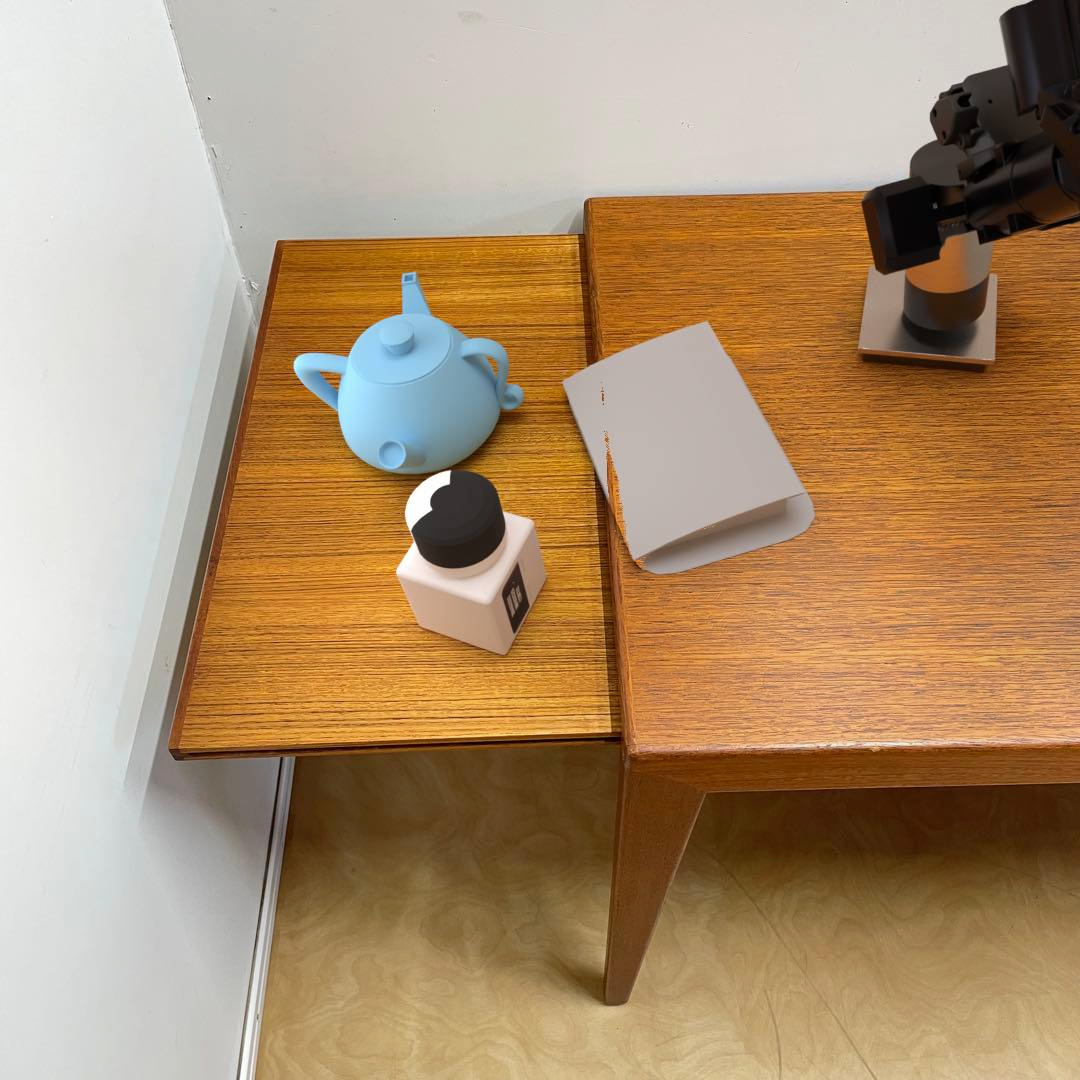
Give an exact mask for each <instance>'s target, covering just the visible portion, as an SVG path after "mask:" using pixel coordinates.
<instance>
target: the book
mask: <svg viewBox="0 0 1080 1080" xmlns="http://www.w3.org/2000/svg"><path fill="white" fill-rule="evenodd" d="M741 375H742V374H741V373H740V371H739V370H738V368H737V366H736V365H735V363H734V361H733V360H732V357H730V356H729V355H728V354H727V353H726V351H725V349H724V346H723V345H722V344H721V342H720V341H719V338H718V337H717V335H716V333H715V331H714V330H713V328H712V326H711V324H710V323H709V321H708V320H706V321H703V322H699V323H696V324H693V325H688V326H686V327H682V328H679V329H676V330H674V331H671V332H668V333H666V334H662V335H660V336H657V337H654V338H652V339H648V340H646V341H644V342H641V343H639V344H636V345H633V346H631V347H628V348H626V349H622V350H621V351H618V352H616V353H614V354H612V355H610V356H608V357H606V358H603V359H601V360H599V361H597V362H595V363H592V364H591V365H588V366H586V367H585V368H584V369H581V370H579V371H578V372H576V373H574V374H573V375H571V376H569V377H567V378H565V379H563V380H562V381H561V384H562V387H563V389H564V391H565V394H566V397H567V399H568V403H569V404H568V406H569V409H570V410H571V413H572V416H573V418H574V421H575V423H576V426H577V428H578V431H579V433H580V436H581V438H582V440H583V443H584V446H585V448H586V450H587V453H588V456H589V458H590V461H591V463H592V465H593V468H594V471H595V474H596V475H597V478H598V481H599V483H600V486H601V488H602V490H603V493H604V496H605V498H606V501H607V503H608V504H609V499H608V498H609V493H608V486H607V485H608V484H607V459H606V458H607V457H606V456H607V455H606V454H607V452H608V451H610V453H609V454H610V455H611V458H612V460H611V461H613V462H614V463H612V464H613V465H614V466H613V467H614V468H615V469H614V470H615V471H616V474H617V477H618V478H617V479H618V480H619V481H618V482H619V483H618V484H619V486H618V487H619V488H618V489H620V490H618V491H619V494H620V495H619V496H621V497H619V498H620V499H619V500H620V501H619V502H620V503H622V504H620V505H622V506H623V507H622V506H620V507H622V508H623V509H622V510H623V511H622V512H623V513H622V514H623V515H622V516H623V517H622V518H623V521H625V522H623V523H625V524H626V525H625V524H623V525H625V526H626V527H625V526H624V527H625V528H626V529H625V528H624V529H625V530H626V536H625V537H626V538H625V539H626V541H627V542H628V543H627V544H629V545H628V546H629V547H628V548H629V550H630V553H631V555H632V558H633V560H638V559H640V558H641V559H645V560H641V561H644V562H640V563H643V564H646V565H642V566H645V567H641V568H644V569H641V570H642V571H645V570H650V571H647V572H648V573H652V574H654V575H657V576H661V575H670V574H679V573H683V572H686V571H690V570H692V569H696V568H699V567H703V566H705V565H710V564H712V563H716V562H719V561H723V560H726V559H730V558H732V557H736V556H737V557H738V556H739V555H743V554H747V553H749V552H753V551H756V550H760V549H763V548H767V547H769V546H773V545H776V544H780V543H784V542H787V541H789V540H792V539H794V538H796V537H797V536H799V535H802V534H803V533H805V532H807V531H808V529H809V528H810V527H811V524H812V523H813V521H814V519H815V518H816V513H815V509H814V502H813V500H812V499H811V497H810V496H809V494H808V492H807V490H806V488H805V486H804V484H803V483H802V481H801V479H800V478H799V476H798V474H797V473H796V470H795V469H794V467H793V465H792V463H791V461H790V460H789V458H788V456H787V455H786V452H785V450H784V449H783V448H782V446H781V444H780V442H779V441H778V439H777V437H776V435H775V434H774V431H773V429H772V428H771V426H770V425H769V422H768V421H767V419H766V418H765V416H764V414H763V412H762V411H761V408H760V407H759V405H758V403H757V402H756V400H755V398H754V396H753V394H752V393H751V391H750V389H749V388H748V386H747V384H746V382H745V381H744V379H743V377H742V376H741ZM601 382H602V383H601ZM602 387H603V389H602ZM602 390H603V391H604V392H601V391H602ZM602 393H603V394H604V396H603V397H604V401H602ZM603 403H604V405H603ZM604 431H605V432H604ZM606 431H607V432H608V433H607V432H606ZM605 433H606V434H607V435H608V436H607V435H606V434H605ZM605 435H606V436H607V437H608V438H609V440H608V441H609V442H608V443H609V444H608V443H607V442H606V441H605V438H607V437H606V436H605ZM606 444H607V445H608V446H609V447H608V446H607V445H606ZM606 446H607V447H608V448H609V449H610V450H608V448H607V447H606ZM607 450H608V451H607ZM621 501H622V502H621ZM714 525H715V526H714ZM710 526H711V527H710ZM712 526H713V527H712ZM708 527H709V528H708ZM704 528H706V529H704ZM702 529H703V530H702ZM624 533H625V532H624ZM624 535H625V534H624ZM642 557H646V558H642ZM633 560H632V561H633Z"/></svg>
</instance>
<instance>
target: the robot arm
mask: <svg viewBox="0 0 1080 1080" xmlns="http://www.w3.org/2000/svg"><path fill="white" fill-rule="evenodd" d="M998 22H999V28H1000V34H1001V38H1002V44H1003V49H1004V54H1005V59H1006V64H1005V65H1002V66H999V67H995V68H991V69H987V70H984V71H979V72H976V73H975V72H974V73H972V74H970V75H967V76H966V77H965V79H964V80H963V82H959V83H953V84H952V85H951V86H950V87H949V89H948V90H945V91H941V92H940V93H939V94H938V99H937V100H936V101H935V103H934V105H933V107H932V108H931V110H930V112H929V123H930V125H931V127H932V130H933V132H934V134H935V137H936V140H937V139H938V142H939V144H940V145H942V146H948V145H952V144H954V145H957V146H958V148H959V149H960V150H963V152H964V153H965V154H966V156H967V158H966V159H964V160H962V161H960V162H959V163H957V164H956V166H957V171H958V176H959V180H960V181H964V180H966V182H967V183H966V184H965V185H964V191H963V201H961V202H957V203H953V204H950V205H946V206H942V207H939V208H937V204H936V203H935V204H933V202H932V197H931V193H930V188H929V184H928V183H927V182H926V181H925V180H924V179H923V177H922V176H921V175H919V176H915V177H911V178H909V177H908V178H904V179H900V180H896V181H894V182H889V183H885V184H882V185H878V186H875V187H874V188H872V189H870V190H868V191H867V192H865V194H864V196H863V198H862V199H861V201H860V205H861V209H862V214H863V219H864V223H865V227H866V232H867V236H868V241H869V246H870V250H871V253H872V260H873V263H874V266H875V269H876V270H877V271H878V272H880V273H881V274H883V275H888V274H892V273H895V272H899V271H903V270H906V269H910V268H914V267H917V266H921V265H924V264H927V263H931V262H934V261H937V260H939V259H940V255H939V254H940V250H941V249H942V248H943V247H944V246H945V243H946V240H947V239H948V238H952V237H956V236H959V235H963V234H967V233H970V232H974V231H977V236H978V241H979V245H982V244H986V243H989V242H993V241H994V242H996V241H1000V240H1004V239H1008V238H1011V237H1015V236H1018V235H1022V234H1025V233H1029V232H1033V231H1039V232H1045V231H1048V230H1049V231H1050V230H1052V229H1056V228H1060V227H1064V226H1067V225H1074V224H1079V223H1080V0H1030V1H1028V2H1026V3H1022V4H1018V5H1015V6H1011V7H1010V8H1008V9H1007V10H1006V11H1004V12H1003V13H1002V14H1001V15H1000V16H999V18H998ZM963 216H966V218H967V219H965V221H964V220H961V221H960V222H959V221H957V222H955V224H954V222H953V223H950V225H949V224H946V225H945V227H944V225H942V226H941V222H945V221H949V220H952V219H956V218H960V217H963ZM938 230H939V231H938Z"/></svg>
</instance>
